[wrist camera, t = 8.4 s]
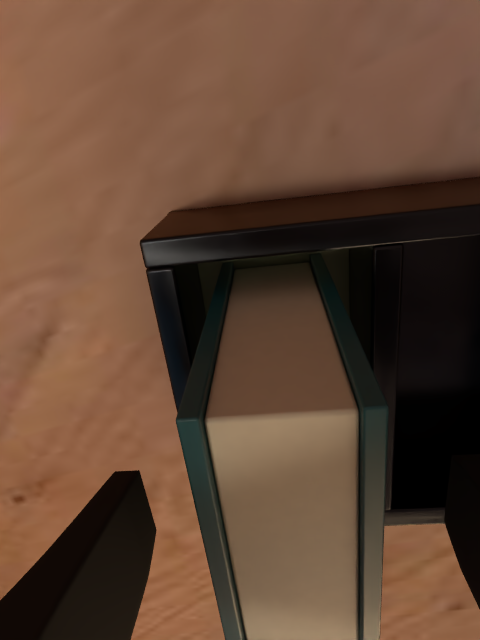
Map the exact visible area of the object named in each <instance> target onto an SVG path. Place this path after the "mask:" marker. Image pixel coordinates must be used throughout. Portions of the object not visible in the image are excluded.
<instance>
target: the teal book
mask: <svg viewBox="0 0 480 640" xmlns="http://www.w3.org/2000/svg"><path fill="white" fill-rule="evenodd" d="M388 414H389V406H388V404H387V402H386V400H385V397H384V395H383V393H382V391H381V388H380V386H379V384H378V382H377V379H376V377H375V375H374V372H373V370H372V368H371V366H370V363H369V361H368V359H367V357H366V354H365V352H364V350H363V347H362V345H361V343H360V341H359V338H358V336H357V334H356V332H355V329H354V327H353V325H352V323H351V320H350V318H349V316H348V313H347V311H346V309H345V307H344V304H343V302H342V300H341V298H340V295H339V293H338V291H337V288H336V286H335V284H334V282H333V279H332V277H331V275H330V273H329V270H328V268H327V266H326V264H325V261H324V259H323V257H322V254H321V253H317V254H310V263H308V262H307V263H296V264H286V265H276V266H265V267H255V268H245V269H236V270H234V263H233V262H226V263H222V266H221V270H220V273H219V276H218V280H217V283H216V286H215V290H214V293H213V297H212V300H211V303H210V307H209V310H208V313H207V317H206V320H205V323H204V327H203V330H202V334H201V337H200V340H199V344H198V347H197V350H196V354H195V357H194V360H193V364H192V367H191V371H190V374H189V377H188V381H187V384H186V387H185V391H184V394H183V397H182V401H181V404H180V408H179V411H178V414H177V418H176V424H177V428H178V433H179V437H180V442H181V446H182V450H183V455H184V459H185V464H186V468H187V472H188V477H189V481H190V486H191V490H192V494H193V499H194V503H195V508H196V512H197V516H198V521H199V525H200V530H201V534H202V539H203V543H204V547H205V552H206V556H207V561H208V565H209V569H210V574H211V578H212V583H213V587H214V591H215V596H216V600H217V605H218V609H219V613H220V618H221V622H222V627H223V631H224V635H225V640H380V622H381V596H382V570H383V544H384V518H385V492H386V466H387V440H388Z"/></svg>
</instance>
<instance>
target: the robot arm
mask: <svg viewBox="0 0 480 640" xmlns="http://www.w3.org/2000/svg"><path fill="white" fill-rule="evenodd" d="M444 522H445V525H446V528H447V531H448V534H449V537H450V540H451V543H452V546H453V549H454V551H455V554H456V557H457V560H458V563H459V565H460V568H461V570H462V572H463V575H464V577H465V579H466V581H467V583H468V585H469V588H470V590H471V592H472V594H473V596H474V598H475V600H476V603H477V605H478V607H479V609H480V454H466V455H452V457H451V465H450V474H449V482H448V490H447V498H446V507H445V515H444ZM155 536H156V527H155V523H154V520H153V516H152V513H151V509H150V506H149V502H148V499H147V496H146V492H145V489H144V485H143V482H142V478H141V475H140V471H139V470H138V471H118V472H114V473H113V474H112V476H111V477H110V478H109V479H108V480H107V481H106V482H105V484H104V485H103V486H102V487H101V488H100V490H99V491H98V492H97V493H96V494H95V495H94V497H93V498H92V499H91V500H90V501H89V503H88V504H87V505H86V506H85V507H84V509H83V510H82V511H81V512H80V513H79V514H78V516H77V517H76V518H75V519H74V520H73V522H72V523H71V524H70V525H69V526H68V527H67V528H66V530H65V531H64V532H63V533H62V534H61V535H60V536H59V538H58V539H57V540H56V541H55V542H54V543H53V544H52V546H51V547H50V548H49V549H48V550H47V551H46V552H45V554H44V555H43V556H42V557H41V558H40V559H39V560H38V561H37V562H36V563H35V564H34V566H33V567H32V568H31V569H30V570H29V571H28V572H27V573H26V574H25V575H24V576H23V577H22V578H21V579H20V580H19V581H18V583H17V584H16V585H15V586H14V587H13V588H12V589H11V590H10V591H9V592H8V593H7V594H6V595H5V596H4V597H3V598H2V599H1V600H0V640H131V636H132V633H133V629H134V626H135V622H136V619H137V615H138V612H139V608H140V605H141V601H142V598H143V594H144V591H145V587H146V583H147V580H148V576H149V571H150V565H151V560H152V554H153V548H154V542H155Z"/></svg>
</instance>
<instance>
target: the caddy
mask: <svg viewBox="0 0 480 640" xmlns="http://www.w3.org/2000/svg"><path fill="white" fill-rule="evenodd" d="M140 246H141V251H142V255H143V260H144V264H145V267H146V268H147V270H146V273H147V278H148V282H149V287H150V291H151V296H152V300H153V305H154V309H155V314H156V318H157V323H158V327H159V332H160V336H161V341H162V345H163V350H164V354H165V359H166V363H167V368H168V372H169V377H170V381H171V386H172V390H173V395H174V399H175V404H176V408H177V413H178V411H179V408H180V404H181V401H182V397H183V394H184V391H185V387H186V384H187V381H188V377H189V374H190V371H191V367H192V364H193V360H194V357H195V354H196V350H197V347H198V344H199V340H200V337H201V334H202V330H203V327H204V323H205V320H206V317H207V313H208V310H209V307H210V303H211V300H212V297H213V293H214V290H215V286H216V283H217V280H218V276H219V273H220V270H221V266H222V263H226V262H233V263H234V270H236V269H245V268H255V267H265V266H276V265H286V264H296V263H307V262H308V263H310V254H317V253H321V254H322V257H323V259H324V261H325V264H326V266H327V268H328V270H329V273H330V275H331V277H332V279H333V282H334V284H335V286H336V288H337V291H338V293H339V295H340V298H341V300H342V302H343V304H344V307H345V309H346V311H347V313H348V316H349V318H350V320H351V323H352V325H353V327H354V329H355V332H356V334H357V336H358V338H359V341H360V343H361V345H362V347H363V350H364V352H365V354H366V357H367V359H368V361H369V363H370V366H371V368H372V370H373V372H374V375H375V377H376V379H377V382H378V384H379V386H380V388H381V391H382V393H383V395H384V397H385V400H386V402H387V404H388V406H389V414H388V440H387V466H386V492H385V518H384V526H394V525H421V524H445V522H444V515H445V507H446V498H447V490H448V482H449V474H450V465H451V457H452V455H466V454H480V177H474V178H465V179H456V180H447V181H438V182H429V183H420V184H412V185H403V186H394V187H385V188H376V189H367V190H358V191H349V192H340V193H331V194H322V195H314V196H305V197H296V198H287V199H278V200H269V201H260V202H251V203H242V204H233V205H224V206H215V207H207V208H198V209H189V210H180V211H171V212H169V213H168V214H167V216H166V217H165V218H164V219H163V220H161V221H160V222H159V223H158V224H157V225H156V226H155V227H154V228H153V229H152V230H151V231H150V232H149V233H148V234H147V235H146V236H145V237H143V238H142V239H141V240H140Z"/></svg>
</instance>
